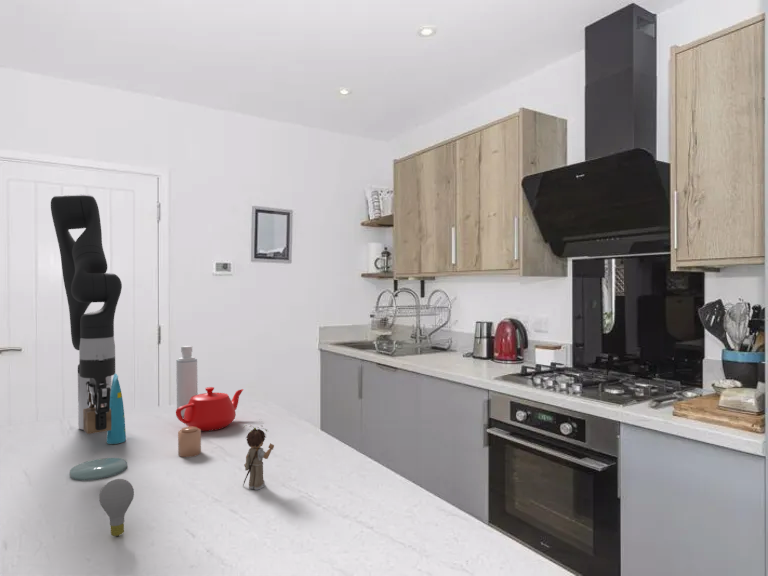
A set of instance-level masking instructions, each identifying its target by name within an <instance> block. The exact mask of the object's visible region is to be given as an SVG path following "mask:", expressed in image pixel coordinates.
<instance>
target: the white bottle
mask: <svg viewBox="0 0 768 576" xmlns="http://www.w3.org/2000/svg"><path fill="white" fill-rule="evenodd" d="M180 352H181V357H178V359H177V360H176V362H175V366H176V369H175V370H176V373H175V374H176V375H175V376H176V410H177V409H178V408H179V407H181V406H184V405H187V404H188V403H189V400H190V398H191V397H193V396H195V395H199V394H198V391H199V390H198V359H197V358H196V356H192V353H193V346H192V345H181V347H180ZM185 409H186V408H185ZM185 409H183V410H182V411H181V416H182V418H184V413H185Z"/></svg>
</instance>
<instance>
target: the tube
mask: <svg viewBox="0 0 768 576" xmlns="http://www.w3.org/2000/svg"><path fill="white" fill-rule="evenodd" d="M124 407H125V406H124V399H123V395H122V389H121V385H120V381H119V375H118V374H117V373H116V372H115V374H114V375H113V377H112V380H111V393H110V409H111V430H109V431H106V444H108V445H116V444H117V445H118V444H122V443H125V442H126V441H127V435H126V434H127V433H126V417H125V408H124Z"/></svg>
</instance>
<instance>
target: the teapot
mask: <svg viewBox="0 0 768 576" xmlns="http://www.w3.org/2000/svg"><path fill="white" fill-rule="evenodd" d="M214 390H215V387H213V386H209V387H205V391H206V392H205V393H200V394H198V395H195V396H193V397H191V398H190V400H189V403H188V404H187V405H184V406H181V407H179V408H178V409H177V408H176V410H175V416H176V418H177V419H178V421H180V422H181V423H183V424H185V425H186V427H197V428H199V429H201V432H210V431H211V430H212V431H217V430H221V429H224V428H226V427H227V426H229V425H230V424H232V422H234V420H235V419H236V416H237V415H236V410H237V408H238V406H239V400H240V395H241V394H242V392H243V391H244V389H243V388H242V389H238V390H236V391H235V393H234V394H233V397H232V399H231V398H230V396H229V394H228V393H225V392H224V393H223V392H213V391H214ZM185 408H186V409H185ZM183 409H185V413H184V417H182V416H181V411H182V410H183ZM209 430H210V431H209ZM212 431H211V432H212Z"/></svg>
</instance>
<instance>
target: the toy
mask: <svg viewBox="0 0 768 576" xmlns="http://www.w3.org/2000/svg"><path fill="white" fill-rule="evenodd" d="M260 420H262V419H261V418H260ZM262 424H264V423H262ZM246 426H247V424H245V425H244V426H243V428H245V427H246ZM249 427H250V428H252V425H250V426H249ZM261 428H262V429H261ZM261 428H257V427H253V428H252V430H251V429H250V430H249V432H248V433H247V435H246V437H245V439H246V443H247V445H248V447H249V448H248V452H247V454H246V456H245V464H244V468H245V469H244V470H245V471H247V474H246V476H245V478H244V480H243V484H242V487H244V485H245V483H246V481H247V478H248V477H249V480H248V489H249V490H251V489H252V490H256V491H257V490H260V489H262V488H264V487H265V486H266V482H265V479H264V462H263V459H265V460H268V459H269V456H270V455H271V452H272V450H274V448H275V444H272V443H269V445H268V450H267V451H265V450H264V447H263V445H264V442H265V440H266V438H267V436H266V433H265V432H264V431H263V430H265V431H266V432H268V429H266V428H264V426H263V425H261Z"/></svg>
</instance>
